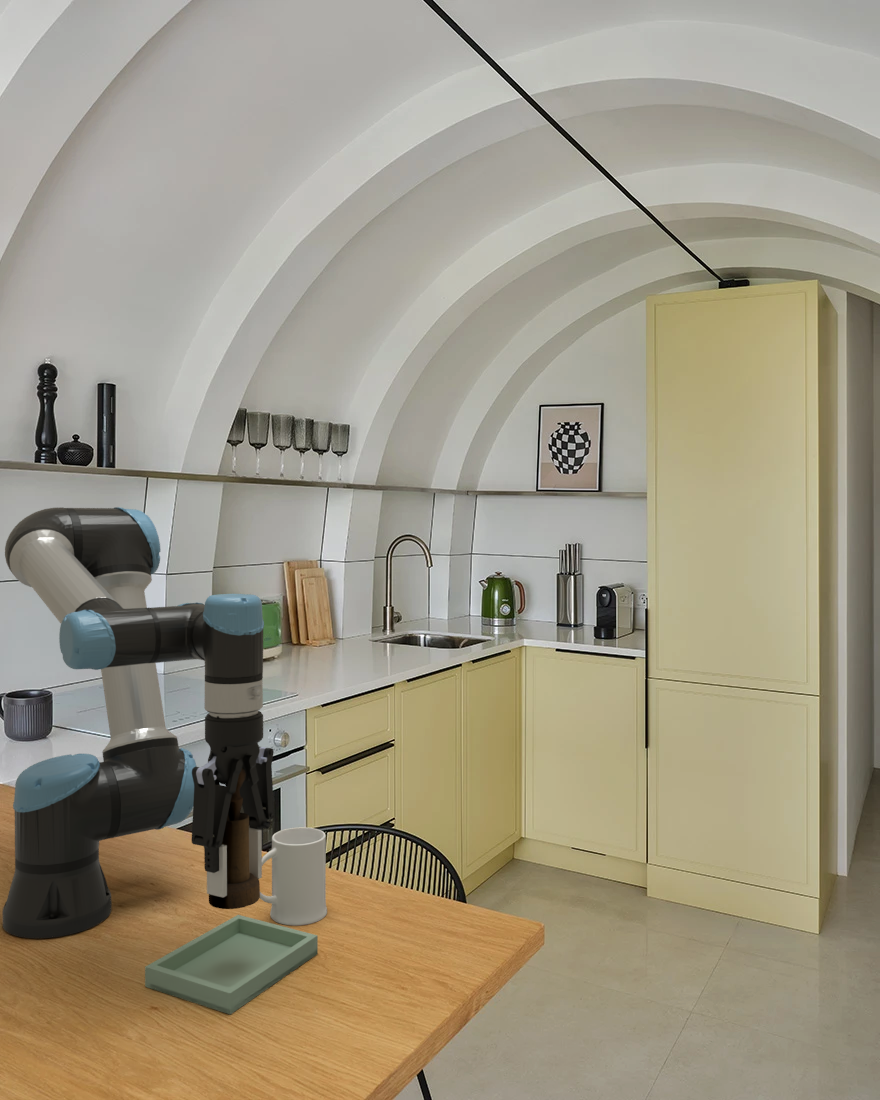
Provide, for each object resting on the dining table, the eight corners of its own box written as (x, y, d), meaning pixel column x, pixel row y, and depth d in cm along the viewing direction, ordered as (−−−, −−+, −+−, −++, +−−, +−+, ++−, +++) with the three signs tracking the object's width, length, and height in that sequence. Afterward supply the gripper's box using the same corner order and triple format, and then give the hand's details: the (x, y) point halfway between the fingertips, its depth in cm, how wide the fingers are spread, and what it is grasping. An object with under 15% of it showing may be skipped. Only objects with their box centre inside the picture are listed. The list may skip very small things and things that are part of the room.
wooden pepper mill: (239, 886, 128) (238, 756, 128) (270, 898, 124) (269, 763, 124) (198, 901, 123) (198, 765, 123) (229, 914, 119) (229, 774, 119)
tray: (145, 986, 120) (145, 966, 120) (238, 932, 136) (238, 914, 135) (230, 1014, 113) (230, 993, 113) (317, 953, 129) (317, 935, 129)
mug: (262, 936, 134) (262, 853, 134) (241, 914, 142) (241, 836, 141) (336, 917, 141) (336, 838, 140) (312, 898, 148) (312, 823, 148)
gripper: (205, 729, 113) (206, 918, 114) (301, 702, 130) (301, 866, 131) (159, 722, 116) (160, 906, 117) (258, 697, 133) (259, 857, 134)
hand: (234, 885), depth 124 cm, fingers closed on wooden pepper mill, 6 cm apart
